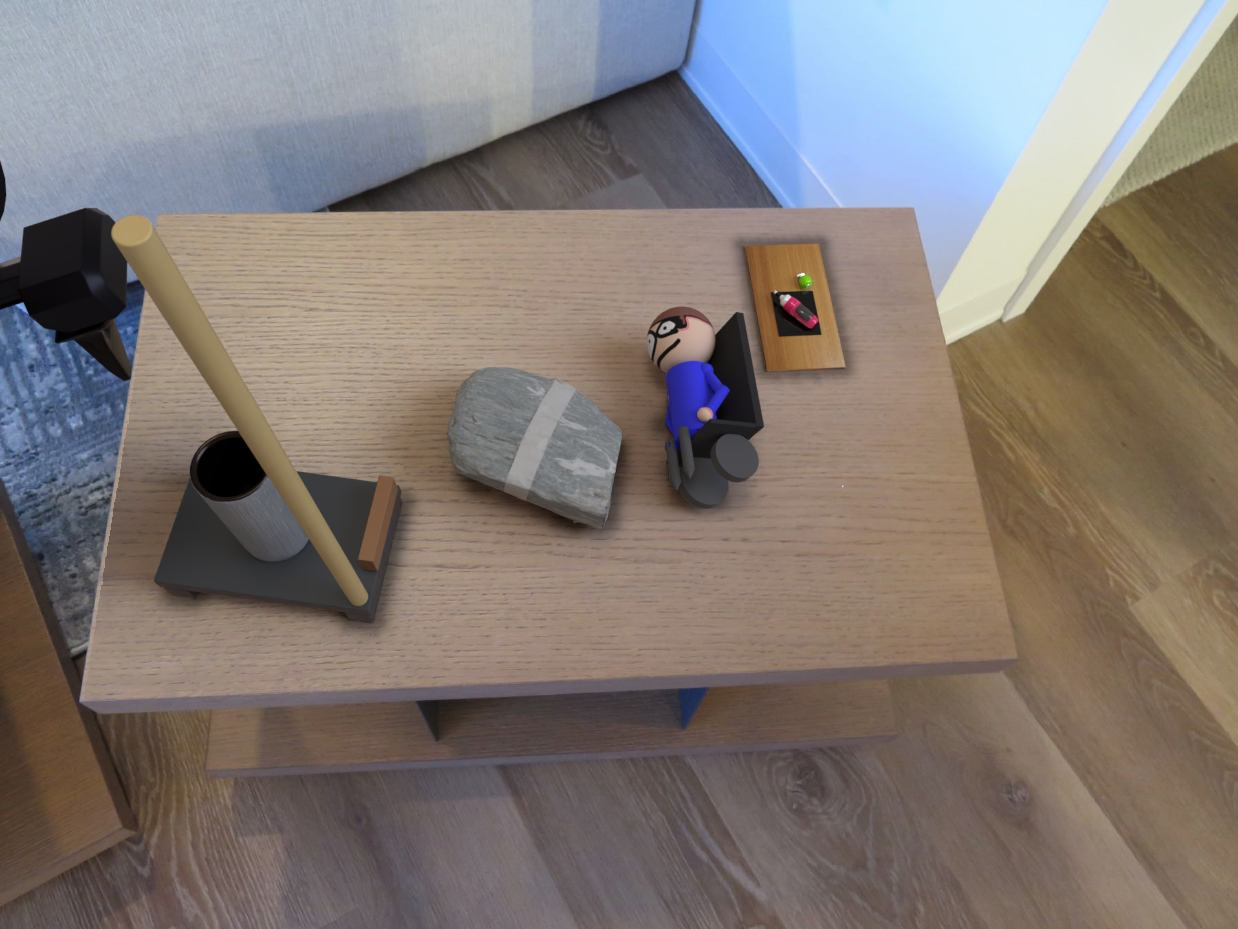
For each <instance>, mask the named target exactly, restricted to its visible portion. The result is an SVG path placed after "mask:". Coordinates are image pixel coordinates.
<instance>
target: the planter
mask: <svg viewBox="0 0 1238 929" xmlns="http://www.w3.org/2000/svg"><path fill="white" fill-rule="evenodd" d="M189 478H190V479H191V482H192V485H193V486H194V488H195V489H196V491H197V492H198V493H199V494H200V496H201V497H202V498H203V499H204V500H205V502H206V503H207V504H208V505H209V506H210V507H211V509H212V510H213V511H214V512H215V513H216V515H217V516H218V517H219V518H220V519H221V521H222V522H223V523H224V524H225V525H226V526H227V528H228V529H229V530H230V531H231V532H232V534H233V535H234V536H235V537H236V538H237V539H238V541H239V542H240V543H241V544H242V545H243V547H244V548H245V549H246V550H247V551H248V552H249V553H250V554H251V555H253V556H254V557H255V558H257V559H260V560H262V561H267V562H279V561H283V560H286V559H289V558H291V557H293V556H294V555H296V554H297V553H298V552H300V551H301V550H302V549H303V548H304V546H305V545H306V543H307V542H308V540H309V538H308V537H307V535H306V534H305V532H304V531H303V529H302V528H301V526H300V525H299V523H298V521H297V520H296V518H295V517H294V515H293V514H292V512H291V511H290V509H289V508H288V506H287V505H286V503H285V502H284V500H283V499H282V497H281V496H280V494H279V493H278V491H277V489H276V488H275V486H274V485H273V483H272V482H271V480H270V479H269V477H268V476H267V474H266V473H265V471H264V470H263V468H262V467H261V465H260V464H259V462H258V460H257V459H256V457H255V456H254V454H253V453H252V451H251V450H250V448H249V447H248V445H247V444H246V442H245V441H244V439H243V438H242V436H241V435H240V433H239V431H238V430H228V431H224V432H219V433H217V434H215V435H213V436H211V437H210V438H208V439H207V440H205V441H204V442H203V443H201V445H200V446H198V448H197V450H195V452H194V454H193V456H192V458H191V461H190V464H189Z"/></svg>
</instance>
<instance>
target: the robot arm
mask: <svg viewBox="0 0 1238 929" xmlns="http://www.w3.org/2000/svg"><path fill="white" fill-rule="evenodd" d="M6 201H7V183H6V176H5V172H4V168H3V166H2V162H1V160H0V222H1V220H2V218H3V215H4V214H5V208H6ZM116 222H117V221H115V220H114V219H113V217H111V215H110V214H108V213H106V212H104V211H103V210H101V209H99V208H98V207H82V208H80V209H77V210H73V211H71V212H66V213H64V214H62V215H58V216H55V217H51V218H49V219H46V220H43V221H40V222H36V223H33V224H30V225H27V226H24V227H23V230H22V240H21V249H20V256H18V257H15V258H11V259H9V260H5V261H2V262H0V311H1V310H4V309H8V308H10V307H14V306H17V305H20V304H23V306H24V308H25V310H26V312H27V314H28V316H29V317H30V318H32V320H33V321H34V322H36V323H37V324H38V325H39V326H41V327H42V328H43V329H45V330H50V331H54V332H55V333H54V343H55V344H58V345H59V344H63V343H67V342H72V341H74V342H75V343H76V344H77V345H79V346H80V347H81V348H82V349H83V350H84V351H85V352H87V354H89V355H90V356H91V357H92V358H94V360H96V362H98V363H99V364H100V365H101V366H102V367H104V368H105V369H106V370H107V371H108V372H109V373H111V374H112V375H114V376H115V377H117V378H118V379H120V380H121V381H123V382H126V381H127V382H128V381H130V380H131V379H132V365H131V362H130V358H129V357H128V353H127V351H126V348H125V345H124V343H123V339H122V337H121V334H120V331H119V328H118V326H117V323H116V319H117V318H118V317H119V315H120V314H121V313H122V312H123V311H124V310H125V309H126V308H127V304H128V303H127V302H128V262H127V261H126V259H125V258H124V256H123V255H122V253H121V252H120V250H119V248H118V247H117V245H116V244H115V242H114V241H113V239H112V236H111V231H112V227H113V226H114V224H115V223H116Z"/></svg>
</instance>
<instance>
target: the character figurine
mask: <svg viewBox="0 0 1238 929" xmlns="http://www.w3.org/2000/svg"><path fill="white" fill-rule="evenodd" d="M646 335H647V336H646V349H647V353H648V356H649V359H650V360H651V362H652V363H653V364H654V365H655V366H656V367H657V369H660V370H661V371H663V372H664V373H666V374H665V383H666V394H667V398H668V404H667V411H666V416H665V417H666V418H665V420H664V425H665V426H666V427H667V429H668V430H669V432H670V433H671V435H672V437H673V439H668V440H666V441H665V442H664V451H665V456H666V460H665V463H666V465H667V470H668V471H667V472H668V478H669V483H670V485H671V486H672V487H673V488H674V489H675V490H676V491H678V492H679V494H680V495H681V496H682V498H683V499H684V500H685V501H686V502H687V503H688V504H689V505H691V506H693V507H695V508H696V509H702V510H709V509H714V508H715V507H716V506H718V505H719V504H720V503H721V502H723V501H724V500H725V499H726V497H727V496H728V493H729V488H730V485H729V482H732V483H743V482H746V481H747V480H749V479H750V478H751V477H752V476H754V475H755V474H756V473H757V471H758V468H759V464H760V459H759V454H758V452H757V450H756V448H755V446H754V445H753V444H752V443H751V441H750V440H751V439H752V438H753V437H754V436H756V435H757V434H758V433H759V432H760V431H761V430H763V429H764V428H765V423H764V418H763V413H762V407H761V402H760V395H759V390H758V387H757V385H758V384H757V381H756V380H757V379H756V374H755V369H754V363H753V358H752V352H751V347H750V342H749V341H750V340H749V337H748V336H749V335H748V330H747V325H746V319H745V314H744V312H740V311H736V312H734V314H732V315H731V317H730V318H729V319H728V320H727V321H726V322H725V323H724V324H723V326H722V327H720V329H718V331H717V332H716V333H715V329H714V326H713V325H712V323H711V321H710V320H709V318H708V317H707V316H706V315H705V314H704V313H702V312H701V311H700V310H697V309H696V308H693V307H690V306H675V307H671V308H667V309H665V310H664V311H662V312H661V313H659V314H658V315H657V316H656V317H655V318H654V320H653V321H652V323H651V324H650V326H649V328H648V331H647V334H646Z"/></svg>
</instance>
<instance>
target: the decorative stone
mask: <svg viewBox="0 0 1238 929" xmlns="http://www.w3.org/2000/svg"><path fill="white" fill-rule="evenodd" d="M446 434H447V438H448V439H447V440H448V444H449V449H448V451H449V454H450V456H451V462H452V465H453V467H454V469H455V470H456V472H457V473H458V474H460V475H462V476H464V477H466V478H469V479H471V480H474V481H477V482H479V483H481V484H483V485H485V486H489V487H491V488H493V489H495V490H498V491H501V492H503V493H504V494H505V493H506V494H508V495H511V496H513V497H515V498H517V499H519V500H522V501H525V502H528V503H531V504H533V505H535V506H538V507H541V508H543V509H546V510H548V511H551V512H552V513H554V514H556V515H559V516H562V517H564V518H565V520H566V519H567V520H568V521H571V520H573V521H572V523H574V524H577V523H579V524H584V525H588V526H591V527H592V528H596V529H600V530H602V531H603V530H605V525H606V522H607V520H608V517H609V514H610V512H609V511H610V509H611V505H612V491H613V485H614V480H615V476H616V475H615V474H616V470H617V465H618V459H619V456H620V451H621V445H622V441H623V430H622V429H621V428H620V427H619V425H617V424H616V423H615V422H613V421H612V420H611V419H610V418H609V417H608V416H607V415H606V414H604V413H603V411H602V410H601V409H600V407H599V406H598V405H597V404H595V403H594V402H593V401H591V400H590V399H589V398H588V397H587V396H585V395H584V394H583V393H582V392H580V391H579V390H578V389H577V388H576V387H575V386H572V385H571V384H568V383H566V382H565V381H562V380H561V379H559V378H557V377H553V378H550V377H546V376H543V375H539V374H535V373H532V372H528V371H525V370H522V369H518V368H512V367H507V366H506V367H504V366H490V367H489V366H487V367H483V368H480V369H478V370H477V369H476V370H475V371H473V372H472V373H471V375H470V376H469V377H467V378H466V379H465V380H464V381H463V382H462V383H461V384H460V385H459V388H458V389H457V391H456V395H455V401H454V406H453V408H452V412H451V414H450V417H449V420H448V425H447V433H446Z"/></svg>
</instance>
